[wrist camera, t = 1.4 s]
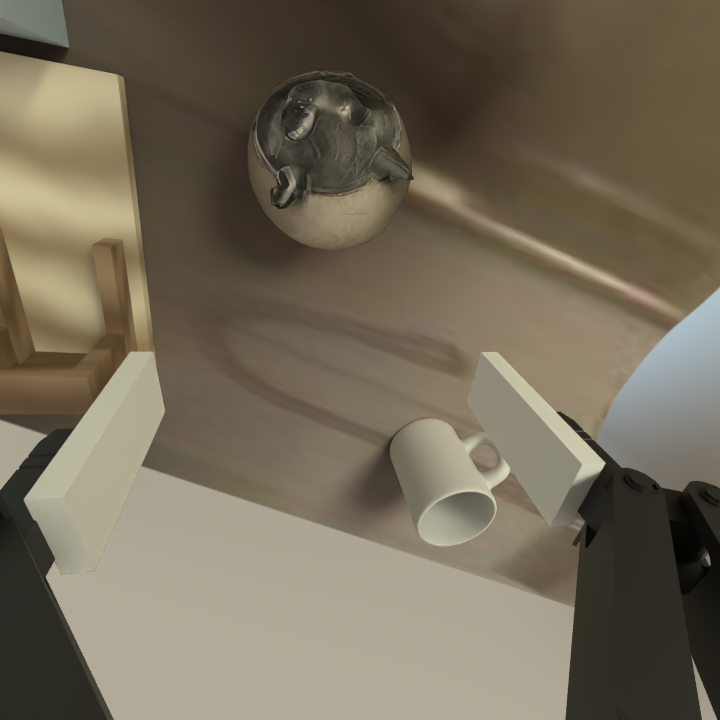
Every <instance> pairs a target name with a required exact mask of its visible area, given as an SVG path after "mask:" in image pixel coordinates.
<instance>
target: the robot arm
mask: <svg viewBox="0 0 720 720" xmlns="http://www.w3.org/2000/svg"><path fill="white" fill-rule="evenodd" d="M467 405H468V406H469V408H470V409H471V411H472V412H473V414H474V415H475V417H476V418H477V420H478V421H479V423H480V424H481V426H482V427H483V429H484V430H485V432H486V433H487V435H488V436H489V437H490V439H491V440H492V442H493V443H494V445H495V446H496V448H497V449H498V451H499V452H500V454H501V455H502V457H503V458H504V460H505V461H506V463H507V464H508V466H509V467H510V469H511V470H512V472H513V473H514V475H515V476H516V478H517V479H518V481H519V482H520V484H521V485H522V487H523V488H524V489H525V491H526V492H527V494H528V495H529V497H530V498H531V500H532V501H533V503H534V504H535V506H536V507H537V509H538V510H539V512H540V513H541V515H542V516H543V518H544V519H545V521H546V522H547V524H548V525H549V527H556V526H566V525H571V524H572V522H573V520H574V518H575V517H576V515H577V513H578V512H579V514H580V515H581V516H582V518H583V519H584V520H585V523H584V525H583V526H582V528H581V530H580V531H579V533H578V535H577V536H576V538H575V540H574V542H573V544H572V545H574V546H577V544H578V542H580V550H579V562H578V574H577V587H576V599H575V612H574V625H573V635H572V647H571V660H570V671H569V684H568V695H567V707H566V720H702V718H701V712H700V706H699V700H698V694H697V688H696V682H695V675H694V670H693V663H692V658H693V660H694V663H695V665H696V668H697V670H698V673H699V675H700V678H701V680H702V682H703V685H704V688H705V690H706V692H707V695H708V697H709V700H710V702H711V705H712V707H713V710H714V712H715V715H716V717H717V720H720V488H718V487H717V486H714V485H711V484H708V483H705V482H700V481H692V482H689V484H688V485H687V486H686V488H685V489H684V490H683V492H680V491H675V490H670V489H665V488H661V487H660V486H659V484H658V483H657V482H656V481H654V480H653V479H652V478H650V477H649V476H647V475H646V474H644V473H642V472H639V471H637V470H633V469H630V468H621V467H620V466H619V465H618V464H617V463H616V462H615V461H614V460H613V459H612V458H611V457H610V456H609V455H608V454H607V453H606V452H605V451H604V450H603V449H602V448H601V447H600V446H599V445H598V444H597V443H596V442H595V441H594V440H592V439H591V437H590V436H589V435H588V434H587V433H586V432H584V431H583V429H582V428H581V427H580V426H579V425H578V424H577V423H576V422H575V421H574V420H572V419H571V418H569V417H568V416H566V415H564V414H563V413H561V412H555V411H554V410H553V409H552V408H551V407H550V406H549V405H548V404H547V402H546V401H545V400H544V399H543V398H542V397H541V396H540V395H539V394H538V393H537V392H536V391H535V390H534V389H533V388H532V387H531V386H530V385H529V384H528V383H527V382H526V381H525V380H524V379H523V378H522V377H521V376H520V375H519V374H518V373H517V372H516V371H515V370H514V369H513V368H512V367H511V366H510V365H509V364H508V362H507V361H506V360H505V359H504V358H503V357H502V356H501V355H500V354H499V353H498V352H481V355H480V358H479V362H478V365H477V369H476V372H475V376H474V379H473V383H472V386H471V390H470V393H469V397H468V400H467ZM164 413H165V408H164V403H163V398H162V393H161V388H160V383H159V378H158V373H157V368H156V363H155V359H154V354H153V352H130V353H129V354H128V356H127V357H126V358H125V360H124V361H123V363H122V364H121V365H120V367H119V368H118V369H117V371H116V372H115V374H114V375H113V376H112V378H111V379H110V381H109V382H108V383H107V385H106V386H105V387H104V389H103V390H102V392H101V393H100V394H99V396H98V397H97V399H96V400H95V401H94V403H93V404H92V405H91V407H90V408H89V410H88V411H87V412H86V414H85V415H84V417H83V418H82V419H81V421H80V422H79V423H78V425H77V426H76V428H75V429H57V430H55V431H54V432H53V433H51V434H50V435H48V436H47V437H45V438H44V439H43V440H41V441H40V442H39V443H38V444H37V445H36V447H35V448H34V449H33V451H32V452H31V453H30V454H29V457H28V458H26V459H25V460H24V462H23V463H22V464H21V465H20V466H19V470H16V471H15V473H14V474H13V475H12V476H11V478H10V479H9V480H8V481H7V483H6V484H5V485H4V486H3V488H2V489H1V490H0V720H114V719H113V717H112V715H111V714H110V711H109V709H108V707H107V705H106V703H105V701H104V698H103V697H102V694H101V692H100V690H99V688H98V686H97V684H96V682H95V679H94V677H93V675H92V673H91V671H90V669H89V667H88V665H87V663H86V661H85V659H84V656H83V655H82V652H81V650H80V648H79V646H78V644H77V642H76V640H75V638H74V635H73V633H72V631H71V629H70V627H69V625H68V623H67V621H66V619H65V617H64V615H63V612H62V610H61V608H60V606H59V604H58V602H57V600H56V598H55V596H54V594H53V591H52V589H51V587H50V585H49V583H48V581H47V579H46V578H45V577H46V575H47V573H48V571H49V569H50V568H51V566H52V564H53V562H54V561H55V563H56V565H57V567H58V569H59V571H60V573H61V574H70V573H81V572H92V571H95V570H96V567H97V565H98V563H99V561H100V558H101V556H102V554H103V552H104V549H105V547H106V545H107V542H108V540H109V538H110V536H111V533H112V531H113V529H114V527H115V524H116V522H117V520H118V518H119V515H120V513H121V511H122V508H123V506H124V503H125V502H126V499H127V497H128V495H129V492H130V490H131V488H132V485H133V483H134V481H135V479H136V477H137V474H138V472H139V470H140V467H141V465H142V463H143V461H144V458H145V456H146V454H147V452H148V449H149V447H150V445H151V442H152V440H153V438H154V436H155V433H156V431H157V429H158V427H159V424H160V422H161V420H162V417H163V415H164ZM707 554H709V556H710V561H711V565H710V566H709V564H708V562H707V561H706V559H705V557H706V555H707ZM691 655H692V658H691Z"/></svg>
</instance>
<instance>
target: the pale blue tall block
mask: <svg viewBox="0 0 720 720" xmlns="http://www.w3.org/2000/svg"><path fill="white" fill-rule="evenodd" d="M0 34H3V35H8V36H13V37H18V38H23V39H28V40H33V41H38V42H42V43H47V44H52V45H57V46H62V47H67V48H69V42H68V36H67V30H66V24H65V18H64V11H63V5H62V0H0Z"/></svg>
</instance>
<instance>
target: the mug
mask: <svg viewBox="0 0 720 720" xmlns="http://www.w3.org/2000/svg"><path fill="white" fill-rule="evenodd" d="M480 445H487V446H489V447H491V448H492V449H493V450H494V452H495V453H496V455H497V458H498V463H497V465H496V466H495V467H494V468H492V469H491V470H488V471H485V472H479V471H478V470H477V468H476V467H475V465H474V463H473V462H472V460H471V458H470V456H469V454H470V452H471V451H472V450H473V449H474V448H476V447H478V446H480ZM390 457H391V461H392V464H393V466H394V469H395V471H396V474H397V477H398V480H399V482H400V485H401V488H402V491H403V494H404V497H405V500H406V503H407V505H408V508H409V511H410V514H411V517H412V520H413V523H414V525H415V528H416V531H417V533H418V535H419V536H420V538H421V539H422V540H424V541H425V542H427V543H429V544H431V545H435V546H452V545H457V544H460V543H463V542H466V541H468V540H470V539H472V538H474V537H476V536H477V535H479V534H480V533H482V532H483V531H484V530H485V529H486V528H487V527H488V526H489V525H490V524H491V522H492V521H493V519H494V517H495V514H496V502H495V499H494V497H493V495H492V493H491V491H490V490H491V489H492V488H493V487H494V486H496V485H497V484H499V483H500V482H502V481H503V480H504V479H505V478H506V477H507V476H508V474H509V472H510V467H509V466H508V464H507V463H506V461H505V460H504V458H503V457H502V455H501V454H500V452H499V451H498V449H497V448H496V446H495V445H494V443H493V442H492V440H491V439H490V437H489V436H488V435H487V433H485V432H476V433H473V434H471V435H468V436H466V437H464V438H462V439H459V438H458V436H457V434H456V433H455V431H454V430H453V428H452V427H451V426H450V425H449V424H448V423H446V422H444V421H442V420H439V419H434V418H426V419H420V420H416V421H414V422H411V423H409V424H408V425H406V426H404V427H403V428H402V429H401V430H400V431H399V432H398V433H397V434H396V435H395V437H394V438H393V440H392V442H391V445H390Z"/></svg>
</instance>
